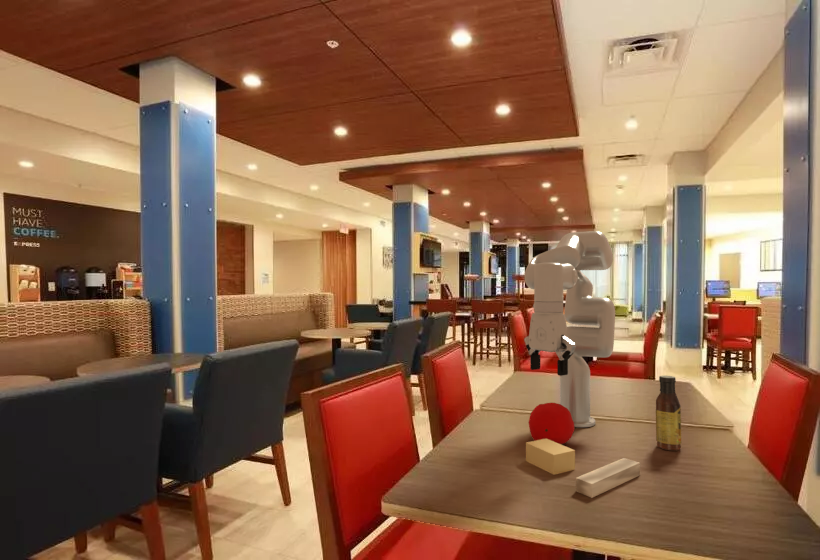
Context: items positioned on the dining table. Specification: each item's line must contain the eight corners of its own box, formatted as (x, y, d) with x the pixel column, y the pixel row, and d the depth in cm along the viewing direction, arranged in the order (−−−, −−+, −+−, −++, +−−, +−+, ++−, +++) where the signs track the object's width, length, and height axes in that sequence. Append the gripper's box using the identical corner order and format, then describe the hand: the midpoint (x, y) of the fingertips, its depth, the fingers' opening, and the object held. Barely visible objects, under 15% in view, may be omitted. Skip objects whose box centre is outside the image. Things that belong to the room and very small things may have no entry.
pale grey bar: (575, 491, 105) (575, 477, 106) (624, 469, 117) (624, 457, 117) (592, 497, 102) (592, 484, 102) (639, 475, 114) (639, 462, 114)
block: (525, 461, 124) (525, 442, 124) (546, 457, 127) (546, 438, 127) (553, 475, 115) (553, 455, 115) (575, 470, 118) (575, 450, 118)
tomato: (548, 462, 130) (565, 449, 141) (574, 428, 126) (589, 418, 137) (513, 429, 137) (531, 420, 148) (536, 396, 133) (553, 388, 144)
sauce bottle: (684, 452, 129) (684, 379, 129) (660, 451, 130) (659, 378, 130) (676, 444, 136) (676, 374, 136) (652, 443, 137) (652, 374, 137)
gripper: (515, 307, 133) (515, 368, 133) (563, 310, 118) (563, 378, 118) (535, 307, 137) (535, 366, 137) (584, 309, 122) (584, 376, 122)
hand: (548, 372), depth 128 cm, fingers open, 9 cm apart
